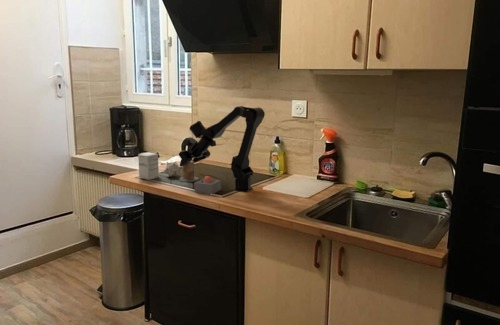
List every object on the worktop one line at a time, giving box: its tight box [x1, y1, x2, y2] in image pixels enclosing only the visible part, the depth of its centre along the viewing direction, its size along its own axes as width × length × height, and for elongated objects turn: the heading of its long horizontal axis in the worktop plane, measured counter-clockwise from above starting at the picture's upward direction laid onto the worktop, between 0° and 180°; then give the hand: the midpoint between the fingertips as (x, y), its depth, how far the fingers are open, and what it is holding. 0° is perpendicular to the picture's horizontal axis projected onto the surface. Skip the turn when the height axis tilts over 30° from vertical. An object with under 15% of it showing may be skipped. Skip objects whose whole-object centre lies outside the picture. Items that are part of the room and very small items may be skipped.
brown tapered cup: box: [182, 161, 195, 180], centre depth 211 cm, size 4×4×9 cm
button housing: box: [193, 178, 222, 195], centre depth 191 cm, size 9×9×4 cm
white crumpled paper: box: [163, 161, 183, 178], centre depth 217 cm, size 9×8×10 cm
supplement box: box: [137, 151, 160, 181], centre depth 214 cm, size 7×7×13 cm
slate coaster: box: [178, 176, 200, 183], centre depth 212 cm, size 10×10×1 cm
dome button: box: [203, 175, 213, 183], centre depth 191 cm, size 4×4×6 cm
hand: (186, 164), depth 211 cm, fingers open, 9 cm apart
